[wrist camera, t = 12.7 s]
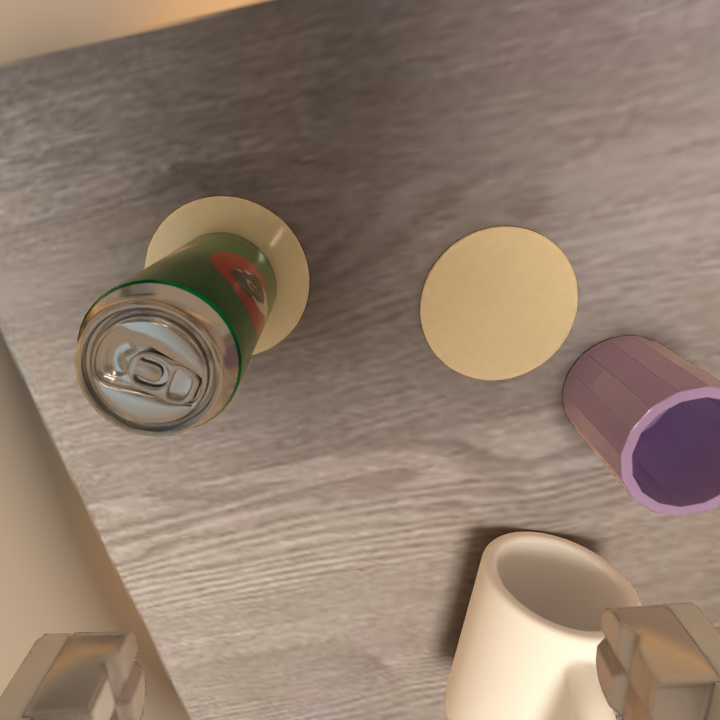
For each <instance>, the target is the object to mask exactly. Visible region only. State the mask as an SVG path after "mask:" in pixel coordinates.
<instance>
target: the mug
mask: <svg viewBox="0 0 720 720" xmlns="http://www.w3.org/2000/svg"><path fill="white" fill-rule="evenodd" d="M629 606H641V603H640V600H639V598H638V595H637V594H636V592H635V590H634V589H633V587H632V586H631V584H630V583H629V582H628V580H627V579H626V578H625V577H624V576H623V575H622V574H621V573H620V572H619V571H618V570H617V569H616V568H615V567H614V566H612V565H611V564H610V563H609V562H607V561H606V560H605V559H603V558H602V557H600V556H599V555H597V554H596V553H594V552H592V551H591V550H589V549H587V548H585V547H583V546H581V545H579V544H577V543H574V542H572V541H569V540H567V539H564V538H561V537H558V536H554V535H550V534H545V533H539V532H513V533H508V534H505V535H502V536H500V537H498V538H496V539H494V540H493V541H492V542H490V543H489V545H488V546H487V547H486V549H485V550H484V552H483V555H482V558H481V562H480V566H479V569H478V573H477V577H476V580H475V584H474V588H473V591H472V595H471V598H470V602H469V606H468V609H467V613H466V617H465V620H464V624H463V628H462V631H461V635H460V639H459V642H458V646H457V649H456V653H455V657H454V660H453V664H452V668H451V671H450V675H449V679H448V682H447V686H446V690H445V711H446V715H447V719H448V720H616V717H615V714H614V710H613V709H612V708H611V707H610V706H609V705H608V703H607V701H606V699H605V696H604V694H603V692H602V689H601V686H600V683H599V680H598V675H597V668H596V651H597V645H598V644H599V643H600V642H601V641H602V640H603V639H604V638H605V635H604V633H603V631H602V629H601V627H600V620H601V614H602V612H603V611H604V609H605V608H612V607H629Z"/></svg>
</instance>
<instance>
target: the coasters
mask: <svg viewBox="0 0 720 720" xmlns="http://www.w3.org/2000/svg"><path fill="white" fill-rule="evenodd" d="M216 232H223V233H231V234H235V235H238V236H241V237H243V238H245V239H247V240H249V241H250V242H252V243H253V244H254V245H256V246H257V247H258V248H259V249H260V250H261V251H262V252H263V253H264V254H265V256H266V257H267V258H268V260H269V262H270V264H271V266H272V268H273V270H274V274H275V277H276V284H277V292H276V298H275V302H274V305H273V308H272V310H271V312H270V315H269V317H268V319H267V322H266V324H265V326H264V328H263V331H262V333H261V335H260V338H259V340H258V342H257V345H256V347H255V349H254V351H253V354H252V355H254V354H258V353H261V352H263V351H266V350H268V349H270V348H271V347H273V346H275V345H277V344H278V343H279V342H281V341H282V340H283V339H284V338H285V337H286V336H287V335H288V334H289V333H290V332H291V331H292V330H293V329H294V327H295V326H296V325H297V323H298V322H299V320H300V318H301V316H302V314H303V312H304V309H305V307H306V303H307V299H308V295H309V286H310V281H309V269H308V263H307V260H306V257H305V253H304V251H303V249H302V247H301V244H300V242H299V241H298V239H297V238H296V236H295V234H294V233H293V232H292V230H291V229H290V228H289V227H288V225H287V224H286V223H285V222H284V221H283V220H282V219H280V218H279V217H278V216H277V215H276V214H274V213H273V212H272V211H270V210H269V209H267V208H265V207H263V206H262V205H260V204H257V203H255V202H252V201H250V200H246V199H243V198H239V197H232V196H212V197H205V198H202V199H198V200H194V201H192V202H190V203H188V204H185V205H183V206H182V207H180V208H178V209H177V210H175V211H174V212H173V213H172V214H170V215H169V216H168V217H167V218H166V219H165V220H164V221H163V222H162V223H161V225H160V226H159V227H158V229H157V230H156V232H155V233H154V235H153V237H152V239H151V242H150V244H149V247H148V250H147V254H146V260H145V268H147V267H149V266H150V265H152V264H154V263H155V262H157V261H159V260H160V259H162V258H163V257H165V256H167V255H168V254H170V253H172V252H173V251H175V250H177V249H178V248H180V247H181V246H183V245H185V244H186V243H188V242H190V241H191V240H193V239H195V238H197V237H199V236H201V235H205V234H208V233H216ZM577 305H578V289H577V281H576V278H575V274H574V271H573V269H572V267H571V265H570V263H569V261H568V259H567V258H566V256H565V255H564V254H563V252H562V251H561V250H560V249H559V248H558V247H557V246H556V245H555V244H554V243H553V242H551V241H550V240H549V239H547V238H545V237H544V236H542V235H540V234H538V233H536V232H533V231H531V230H528V229H524V228H521V227H513V226H497V227H489V228H485V229H482V230H478V231H476V232H473V233H471V234H468V235H467V236H465V237H463V238H461V239H460V240H458V241H457V242H455V243H454V244H453V245H451V246H450V247H449V248H448V249H447V250H446V251H445V252H444V253H443V254H442V255H441V256H440V257H439V258H438V260H437V261H436V262H435V263H434V265H433V267H432V268H431V270H430V271H429V274H428V276H427V278H426V280H425V283H424V286H423V289H422V293H421V299H420V321H421V325H422V329H423V332H424V335H425V338H426V340H427V342H428V344H429V346H430V347H431V349H432V350H433V352H434V353H435V354H436V356H437V357H438V358H439V359H440V360H441V361H442V362H443V363H444V364H446V365H447V366H448V367H450V368H451V369H453V370H454V371H456V372H458V373H460V374H462V375H465V376H468V377H471V378H475V379H480V380H504V379H509V378H513V377H517V376H520V375H523V374H525V373H527V372H529V371H531V370H533V369H535V368H537V367H538V366H540V365H541V364H543V363H544V362H545V361H546V360H548V359H549V358H550V357H551V356H552V355H553V354H554V353H555V352H556V351H557V350H558V349H559V347H560V346H561V345H562V343H563V342H564V341H565V339H566V337H567V335H568V334H569V332H570V330H571V327H572V325H573V323H574V319H575V316H576V312H577Z"/></svg>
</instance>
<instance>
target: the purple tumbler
mask: <svg viewBox="0 0 720 720" xmlns="http://www.w3.org/2000/svg"><path fill="white" fill-rule="evenodd" d="M563 405H564V409H565V413H566V415H567V417H568V419H569V421H570V422H571V423H572V425H573V426H574V427H575V429H576V431H577V432H578V433H579V435H580V436H581V437H582V438H583V439H584V441H585V442H586V443H587V444H588V446H589V447H590V448H591V449H592V450H593V452H594V453H595V454H596V455H597V456H598V458H599V459H600V460H601V461H602V462H603V464H604V465H605V466H606V467H607V468H608V470H609V471H610V472H611V473H612V474H613V476H614V477H615V478H616V479H617V480H618V482H619V483H620V484H621V485H622V486H623V488H624V489H625V490H626V491H627V493H628V494H629V495H630V496H631V497H632V498H633V499H634V500H635V501H637V502H638V503H640V504H641V505H643V506H644V507H646V508H648V509H649V510H651V511H653V512H656V513H662V514H668V515H674V516H683V515H689V514H695V513H700V512H706V511H708V510H710V509H712V508H714V507H716V506H718V505H720V381H719V380H718V379H716V378H714V377H713V376H711V375H710V374H708V373H706V372H705V371H703V370H701V369H700V368H698V367H697V366H695V365H693V364H692V363H690V362H688V361H687V360H685V359H684V358H682V357H680V356H679V355H677V354H675V353H674V352H672V351H671V350H669V349H667V348H666V347H664V346H662V345H661V344H659V343H657V342H655V341H652V340H650V339H648V338H644V337H639V336H620V337H615V338H611V339H608V340H605V341H603V342H601V343H599V344H597V345H595V346H593V347H592V348H590V349H589V350H588V351H587V352H585V353H584V354H583V355H582V356H581V357H580V358H579V359H578V360H577V361H576V363H575V364H574V365H573V367H572V368H571V370H570V372H569V374H568V376H567V378H566V381H565V385H564V390H563Z"/></svg>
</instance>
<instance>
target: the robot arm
mask: <svg viewBox="0 0 720 720" xmlns="http://www.w3.org/2000/svg"><path fill="white" fill-rule="evenodd" d="M600 627H601V629H602V631H603V633H604V635H605V638H604V639H603V640H602V641H601V642H600V643H599V644H598V645H597V651H596V668H597V675H598V680H599V683H600V686H601V689H602V692H603V694H604V696H605V699H606V701H607V703H608V705H609V706H610V707H611V708H612V709H613V710H615V711H616V712H617V713H619V714H620V715H621V716H622V717H623V720H720V633H719V632H718V630H717V629H716V628H715V627H714V626H713V624H712V623H711V622H710V621H709V619H708V618H707V617H706V616H705V614H704V613H703V612H702V611H701V609H700V608H699V607H698V606H696V605H695V604H693V603H676V604H663V605H646V606H629V607H612V608H605V609H604V611H603V612H602V614H601V620H600ZM139 649H140V648H139V643H138V640H137V636H136V633H134V632H131V631H123V632H79V633H71V634H70V633H68V634H67V633H65V634H44V635H43V636H42V637H40V638H39V639H38V640H37V641H36V642H35V643H34V645H33V647H32V648H31V650H30V651H29V653H28V654H27V656H26V658H25V659H24V661H23V662H22V664H21V665H20V667H19V668H18V670H17V672H16V673H15V675H14V676H13V678H12V679H11V681H10V683H9V684H8V686H7V687H6V689H5V690H4V692H3V694H2V695H1V697H0V720H141V718H142V715H143V711H144V705H145V699H146V678H145V671H144V668H143V667H142V666H141V665H139V664H138V663H137V662H136V661H135V659H136V656H137V654H138V651H139Z"/></svg>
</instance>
